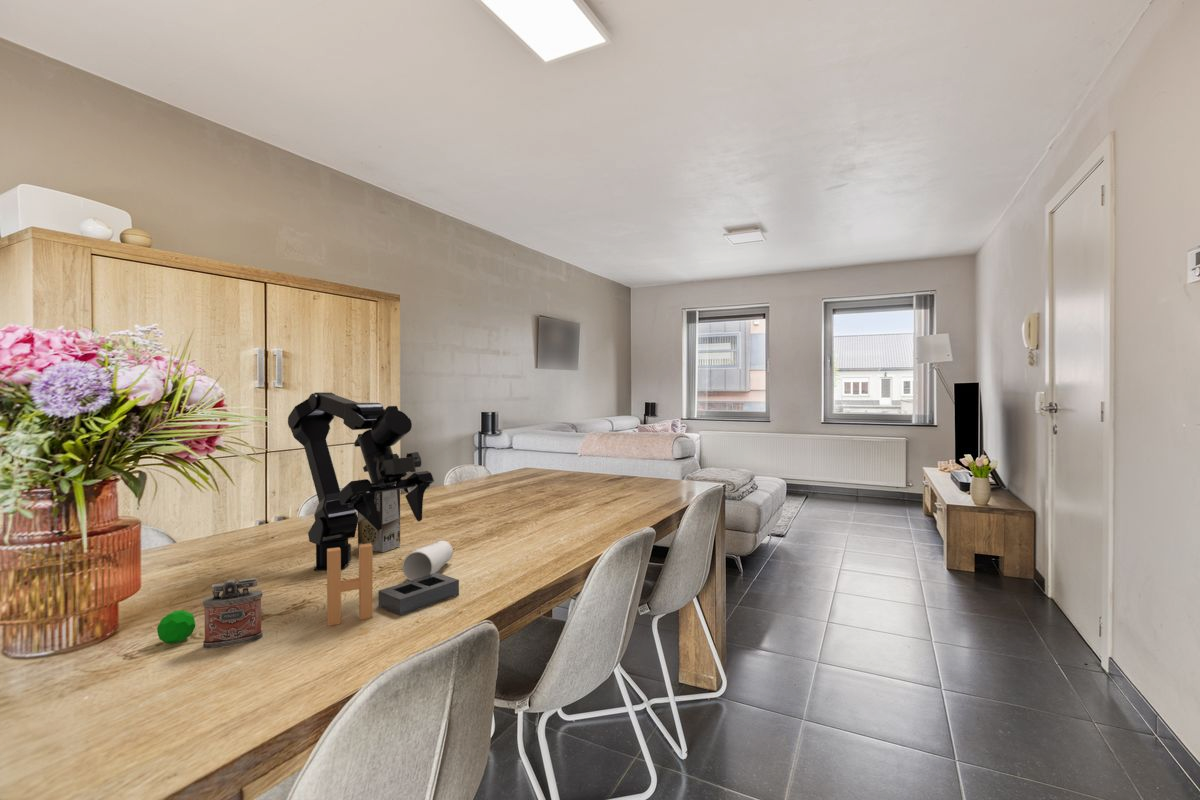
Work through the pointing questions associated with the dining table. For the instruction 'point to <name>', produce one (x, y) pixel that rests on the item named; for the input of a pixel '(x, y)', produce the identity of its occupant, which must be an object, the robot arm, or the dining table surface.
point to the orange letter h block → (349, 583)
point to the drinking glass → (427, 560)
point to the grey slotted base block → (418, 593)
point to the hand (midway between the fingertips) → (400, 525)
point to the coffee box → (382, 523)
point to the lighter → (232, 614)
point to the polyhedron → (176, 627)
